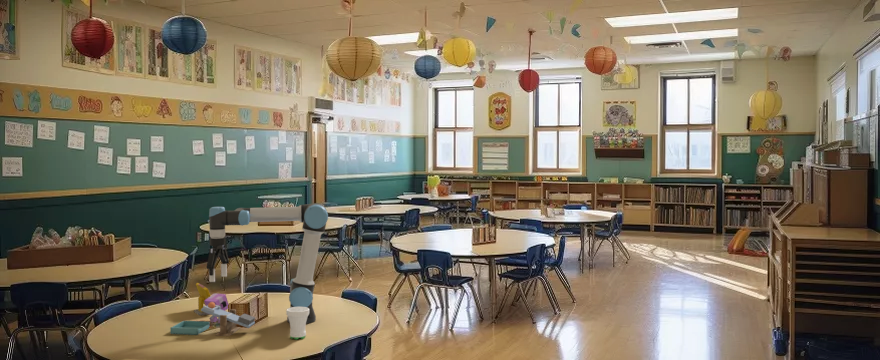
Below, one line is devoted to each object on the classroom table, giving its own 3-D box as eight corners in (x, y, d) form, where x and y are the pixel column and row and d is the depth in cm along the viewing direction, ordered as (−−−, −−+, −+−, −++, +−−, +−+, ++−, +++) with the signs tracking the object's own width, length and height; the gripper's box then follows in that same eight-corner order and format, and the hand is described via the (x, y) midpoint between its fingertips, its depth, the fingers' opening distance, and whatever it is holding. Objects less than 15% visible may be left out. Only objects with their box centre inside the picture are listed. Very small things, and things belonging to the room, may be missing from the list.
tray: (209, 327, 354) (209, 321, 354) (197, 334, 340) (197, 328, 340) (183, 326, 356) (183, 320, 356) (170, 334, 342) (170, 327, 342)
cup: (298, 342, 329) (298, 313, 328) (281, 338, 335) (281, 310, 334) (314, 336, 338) (314, 308, 338) (297, 333, 344) (297, 305, 344)
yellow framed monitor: (215, 315, 380) (215, 287, 379) (201, 317, 375) (200, 288, 375) (205, 308, 396) (205, 281, 396) (191, 310, 392) (191, 282, 391)
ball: (215, 308, 348) (217, 302, 348) (212, 310, 345) (214, 303, 344) (209, 307, 348) (210, 300, 348) (206, 308, 345) (207, 302, 345)
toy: (234, 318, 368) (227, 294, 364) (224, 326, 362) (217, 301, 357) (219, 317, 373) (212, 293, 368) (209, 325, 366) (202, 300, 362)
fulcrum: (240, 328, 353) (240, 309, 352) (229, 336, 339) (229, 316, 338) (227, 328, 353) (227, 308, 353) (215, 335, 340) (215, 315, 339)
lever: (255, 323, 350) (257, 316, 350) (247, 328, 340) (249, 322, 339) (208, 306, 352) (210, 299, 352) (199, 311, 342) (201, 304, 341)
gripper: (221, 234, 359) (222, 274, 360) (198, 240, 334) (199, 283, 335) (234, 234, 358) (235, 274, 359) (213, 240, 333) (214, 284, 334)
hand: (218, 279), depth 347 cm, fingers open, 13 cm apart
